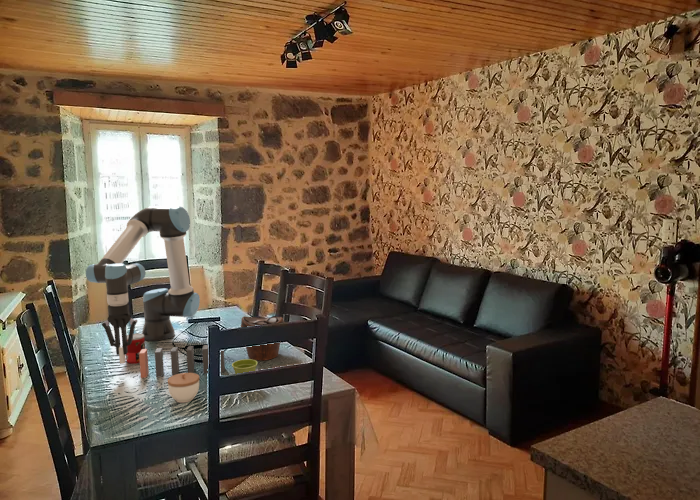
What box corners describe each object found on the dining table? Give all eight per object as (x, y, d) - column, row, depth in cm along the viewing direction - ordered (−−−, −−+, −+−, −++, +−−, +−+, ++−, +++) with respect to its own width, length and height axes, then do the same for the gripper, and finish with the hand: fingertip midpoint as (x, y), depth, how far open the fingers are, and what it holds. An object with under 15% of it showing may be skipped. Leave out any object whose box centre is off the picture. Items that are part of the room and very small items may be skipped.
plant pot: (236, 392, 192) (235, 369, 191) (230, 383, 201) (229, 361, 199) (261, 387, 197) (260, 365, 195) (254, 379, 205) (253, 357, 204)
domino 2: (158, 372, 213) (157, 348, 212) (163, 371, 213) (162, 347, 212) (156, 376, 208) (154, 352, 207) (161, 376, 209) (159, 352, 207)
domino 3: (174, 371, 214) (172, 347, 213) (179, 370, 214) (177, 346, 213) (172, 375, 209) (170, 351, 208) (177, 375, 209) (175, 351, 208)
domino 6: (219, 367, 217) (218, 344, 215) (224, 367, 217) (223, 344, 216) (218, 372, 212) (217, 348, 211) (223, 372, 212) (222, 348, 211)
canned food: (139, 364, 222) (137, 339, 220) (122, 363, 223) (120, 338, 222) (149, 358, 229) (148, 333, 228) (133, 357, 231) (131, 332, 229)
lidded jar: (170, 407, 181) (168, 381, 179) (167, 395, 190) (165, 370, 189) (202, 402, 185) (201, 376, 183) (198, 390, 194) (196, 366, 193)
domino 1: (143, 373, 212) (141, 349, 211) (148, 372, 212) (147, 348, 211) (140, 377, 207) (139, 353, 206) (146, 377, 208) (144, 353, 206)
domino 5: (204, 369, 216) (203, 345, 215) (209, 368, 216) (208, 345, 215) (203, 373, 211) (202, 349, 210) (208, 373, 211) (207, 349, 210)
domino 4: (189, 370, 215) (188, 346, 214) (194, 369, 215) (193, 346, 214) (187, 374, 210) (186, 350, 209) (193, 374, 210) (191, 350, 209)
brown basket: (295, 354, 232) (293, 314, 230) (258, 366, 218) (256, 324, 215) (269, 346, 244) (267, 308, 242) (233, 357, 230) (230, 317, 227)
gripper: (97, 307, 200) (102, 367, 203) (133, 305, 202) (137, 364, 205) (103, 302, 207) (107, 360, 210) (138, 300, 209) (142, 358, 212)
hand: (122, 362), depth 208 cm, fingers closed
